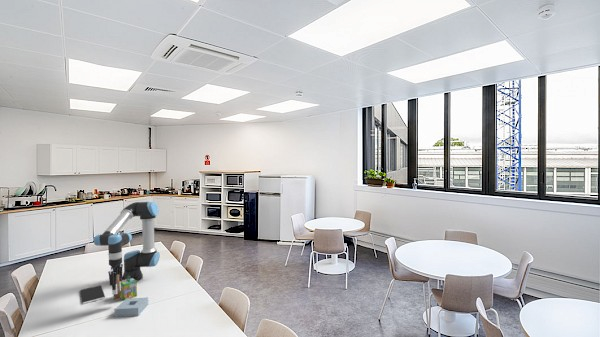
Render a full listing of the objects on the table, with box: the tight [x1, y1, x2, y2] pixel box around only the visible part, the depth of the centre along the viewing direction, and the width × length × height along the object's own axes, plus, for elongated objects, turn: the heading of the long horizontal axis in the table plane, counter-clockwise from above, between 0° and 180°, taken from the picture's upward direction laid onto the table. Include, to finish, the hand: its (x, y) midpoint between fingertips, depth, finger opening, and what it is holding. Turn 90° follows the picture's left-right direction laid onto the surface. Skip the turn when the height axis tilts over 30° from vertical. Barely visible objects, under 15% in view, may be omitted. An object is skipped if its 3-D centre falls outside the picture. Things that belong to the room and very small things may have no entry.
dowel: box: [112, 274, 121, 301], centre depth 189 cm, size 4×4×16 cm
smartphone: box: [79, 285, 106, 305], centre depth 207 cm, size 13×27×2 cm, turn 41°
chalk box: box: [119, 276, 138, 302], centre depth 204 cm, size 9×9×15 cm
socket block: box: [114, 297, 149, 318], centre depth 184 cm, size 14×14×5 cm
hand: (116, 292), depth 189 cm, fingers closed on dowel, 3 cm apart
